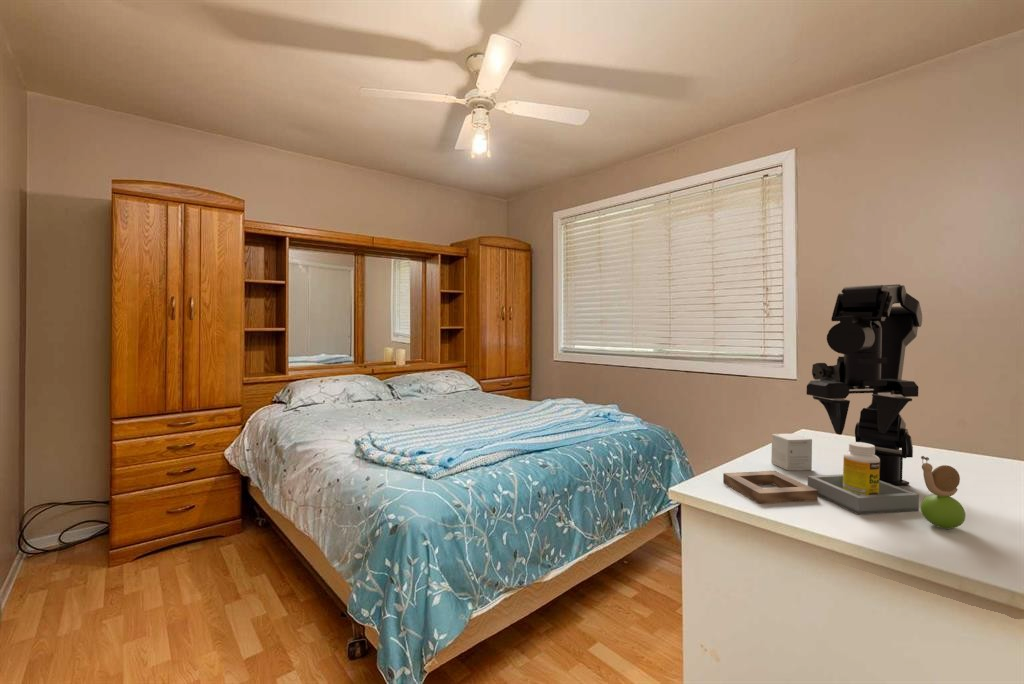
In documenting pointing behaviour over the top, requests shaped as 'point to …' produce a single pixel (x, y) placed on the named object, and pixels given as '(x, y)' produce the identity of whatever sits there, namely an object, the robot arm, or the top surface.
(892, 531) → the top surface
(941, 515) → the snail figurine
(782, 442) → the product box
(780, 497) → the wooden rectangular frame
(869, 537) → the top surface
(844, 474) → the supplement bottle
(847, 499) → the parts tray
